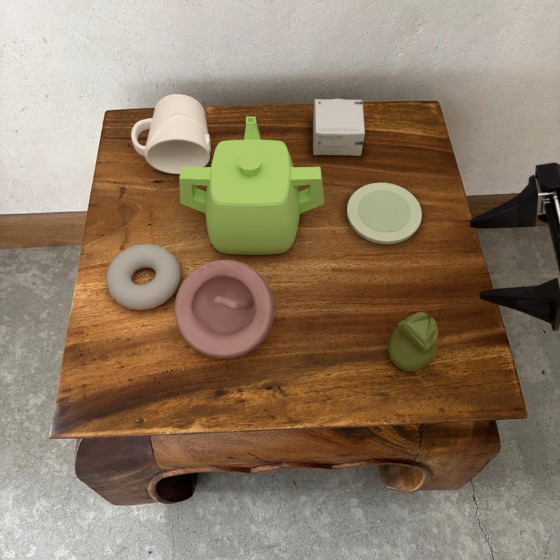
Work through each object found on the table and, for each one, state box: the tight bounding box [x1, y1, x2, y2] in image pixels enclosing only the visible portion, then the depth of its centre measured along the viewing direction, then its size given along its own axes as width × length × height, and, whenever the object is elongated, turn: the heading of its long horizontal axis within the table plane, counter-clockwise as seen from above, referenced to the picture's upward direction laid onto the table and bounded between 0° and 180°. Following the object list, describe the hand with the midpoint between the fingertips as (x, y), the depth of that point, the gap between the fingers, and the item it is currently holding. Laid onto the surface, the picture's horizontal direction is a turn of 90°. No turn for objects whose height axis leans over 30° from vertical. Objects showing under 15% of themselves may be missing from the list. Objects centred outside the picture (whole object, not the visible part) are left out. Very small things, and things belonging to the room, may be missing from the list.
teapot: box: [178, 116, 325, 256], centre depth 76 cm, size 18×20×13 cm
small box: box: [312, 98, 366, 157], centre depth 87 cm, size 8×8×5 cm
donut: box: [105, 243, 182, 311], centre depth 74 cm, size 10×4×10 cm
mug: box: [130, 93, 212, 175], centre depth 85 cm, size 12×9×8 cm
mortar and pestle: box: [174, 259, 276, 360], centre depth 67 cm, size 12×12×11 cm
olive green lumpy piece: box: [387, 311, 439, 373], centre depth 65 cm, size 6×5×10 cm
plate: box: [346, 182, 423, 245], centre depth 81 cm, size 11×11×1 cm
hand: (474, 258), depth 59 cm, fingers open, 9 cm apart
